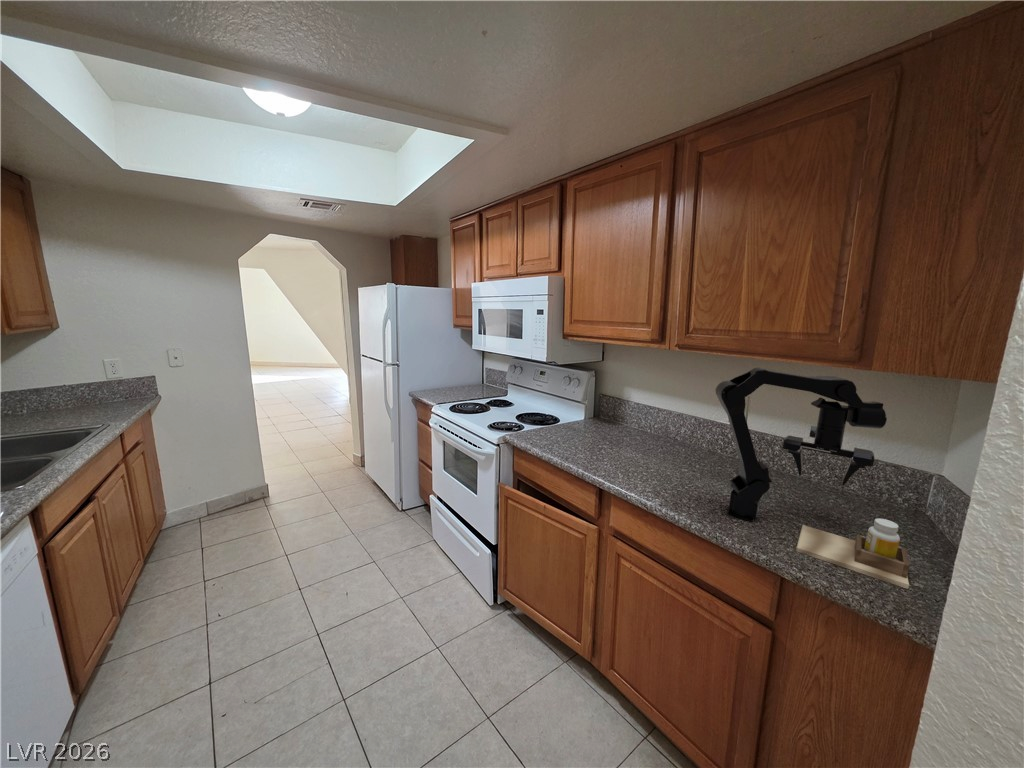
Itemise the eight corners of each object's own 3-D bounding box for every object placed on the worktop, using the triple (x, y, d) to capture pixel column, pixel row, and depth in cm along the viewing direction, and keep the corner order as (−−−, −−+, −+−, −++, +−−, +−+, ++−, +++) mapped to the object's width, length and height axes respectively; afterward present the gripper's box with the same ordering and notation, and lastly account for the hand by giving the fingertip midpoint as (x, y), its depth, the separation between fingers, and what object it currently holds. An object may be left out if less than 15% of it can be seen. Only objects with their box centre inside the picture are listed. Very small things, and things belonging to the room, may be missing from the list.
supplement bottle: (856, 554, 93) (864, 517, 91) (874, 552, 94) (881, 515, 93) (882, 569, 88) (891, 530, 86) (900, 566, 89) (909, 527, 87)
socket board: (796, 551, 96) (798, 536, 95) (802, 528, 106) (804, 514, 105) (908, 589, 83) (912, 572, 82) (902, 558, 94) (905, 543, 93)
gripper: (877, 425, 103) (866, 481, 106) (792, 412, 115) (783, 462, 118) (879, 435, 95) (867, 494, 98) (786, 419, 107) (778, 473, 110)
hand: (821, 479), depth 106 cm, fingers open, 9 cm apart
